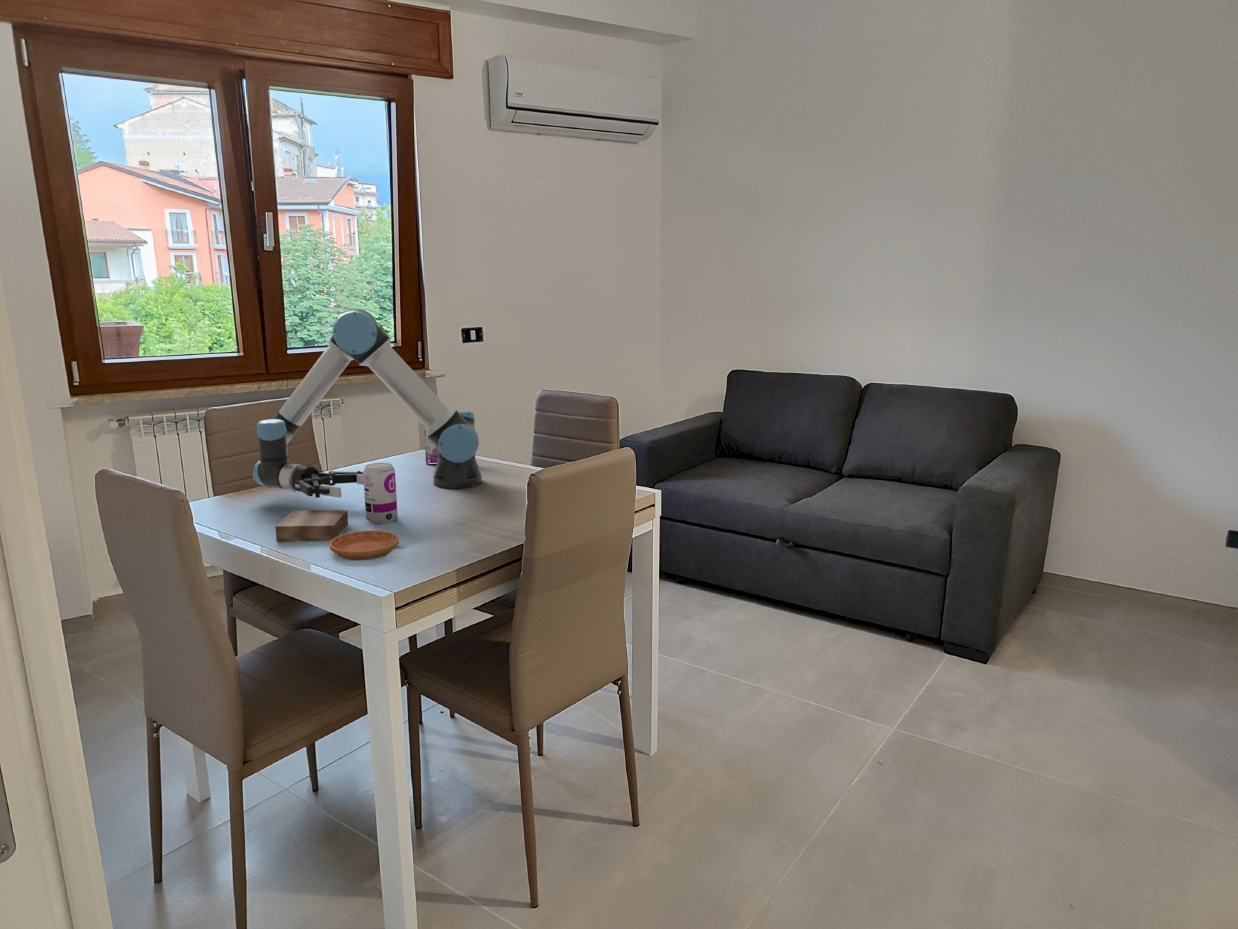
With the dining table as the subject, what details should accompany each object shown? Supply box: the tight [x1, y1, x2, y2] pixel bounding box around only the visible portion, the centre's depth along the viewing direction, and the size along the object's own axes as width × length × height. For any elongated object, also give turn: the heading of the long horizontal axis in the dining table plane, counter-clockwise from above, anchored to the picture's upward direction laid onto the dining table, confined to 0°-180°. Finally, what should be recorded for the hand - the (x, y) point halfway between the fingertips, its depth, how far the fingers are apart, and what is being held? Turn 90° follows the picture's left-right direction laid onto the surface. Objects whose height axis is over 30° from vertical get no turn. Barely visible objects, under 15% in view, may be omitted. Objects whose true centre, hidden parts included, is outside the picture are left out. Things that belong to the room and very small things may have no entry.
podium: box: [274, 509, 349, 543], centre depth 209 cm, size 14×14×4 cm
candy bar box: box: [424, 426, 438, 464], centre depth 287 cm, size 11×5×16 cm, turn 84°
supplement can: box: [362, 462, 398, 524], centre depth 220 cm, size 8×8×15 cm
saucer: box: [328, 529, 400, 561], centre depth 196 cm, size 16×16×3 cm
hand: (358, 486), depth 223 cm, fingers open, 13 cm apart
